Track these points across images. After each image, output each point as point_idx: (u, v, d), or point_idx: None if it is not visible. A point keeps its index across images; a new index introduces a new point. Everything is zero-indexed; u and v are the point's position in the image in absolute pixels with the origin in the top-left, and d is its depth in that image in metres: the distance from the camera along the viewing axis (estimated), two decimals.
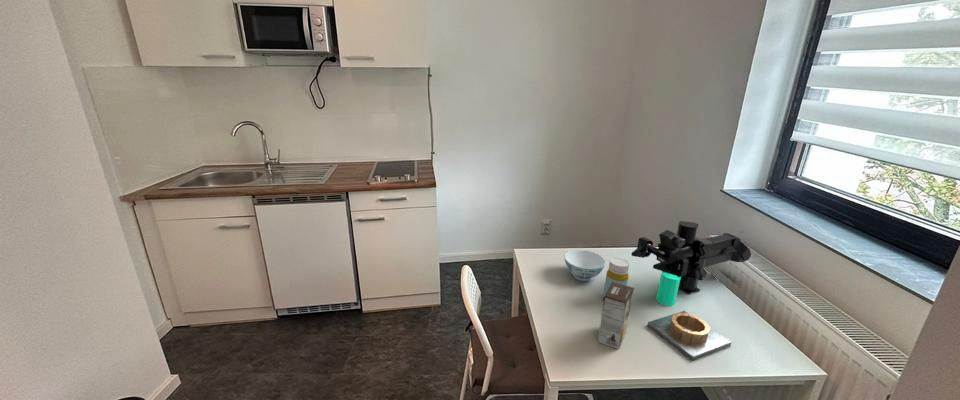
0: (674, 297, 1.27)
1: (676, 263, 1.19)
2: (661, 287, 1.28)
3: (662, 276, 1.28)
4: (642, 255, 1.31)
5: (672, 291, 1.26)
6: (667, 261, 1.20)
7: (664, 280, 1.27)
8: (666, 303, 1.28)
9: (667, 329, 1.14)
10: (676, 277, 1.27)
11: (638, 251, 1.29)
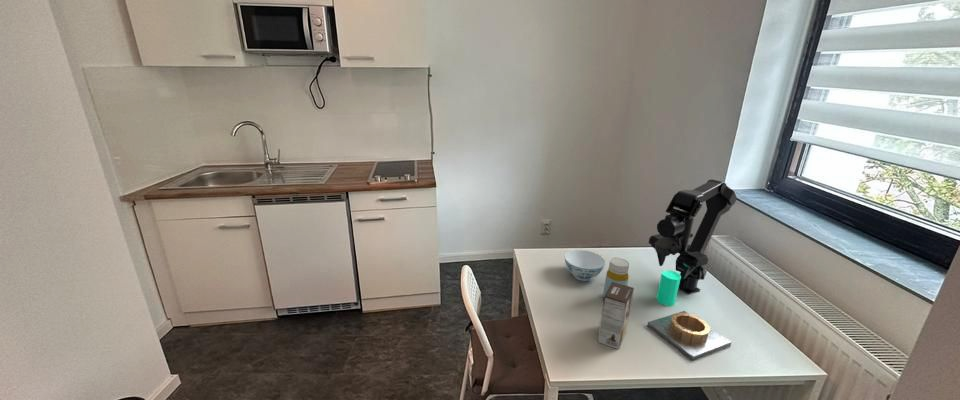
0: (674, 297, 1.27)
1: None
2: (661, 287, 1.28)
3: (662, 276, 1.28)
4: None
5: (672, 291, 1.26)
6: (685, 267, 1.20)
7: (664, 280, 1.27)
8: (666, 303, 1.28)
9: (667, 329, 1.14)
10: (676, 277, 1.26)
11: (661, 258, 1.30)
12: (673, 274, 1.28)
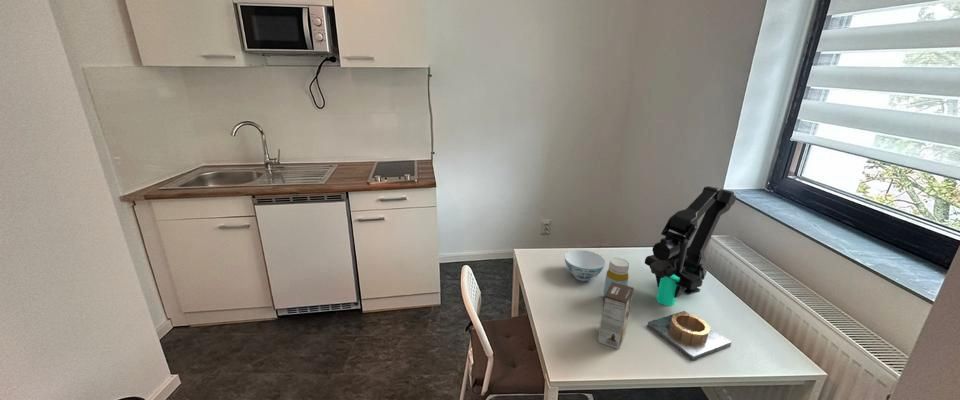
0: (674, 297, 1.27)
1: None
2: (661, 287, 1.28)
3: None
4: None
5: (672, 291, 1.26)
6: (678, 287, 1.24)
7: (664, 280, 1.27)
8: (666, 303, 1.28)
9: (667, 329, 1.14)
10: (676, 277, 1.26)
11: (659, 280, 1.32)
12: None
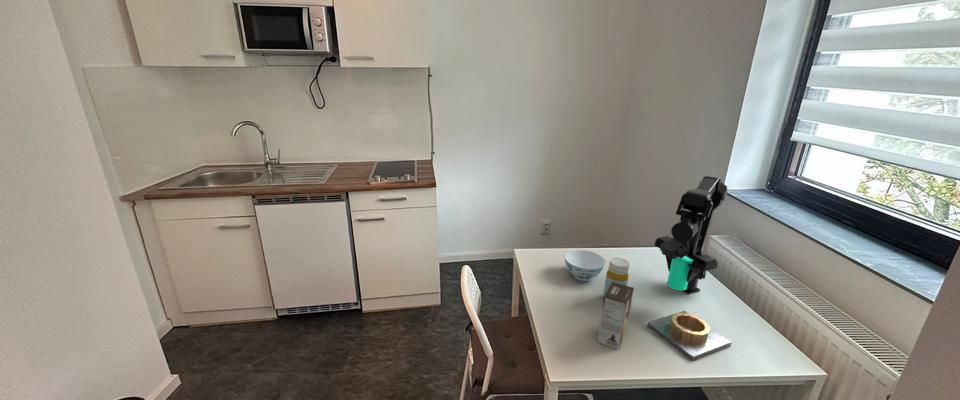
0: None
1: None
2: (673, 270, 1.19)
3: None
4: None
5: (685, 274, 1.17)
6: (690, 270, 1.15)
7: (676, 262, 1.18)
8: (678, 287, 1.19)
9: (667, 329, 1.14)
10: (689, 259, 1.18)
11: (670, 263, 1.23)
12: (685, 256, 1.20)
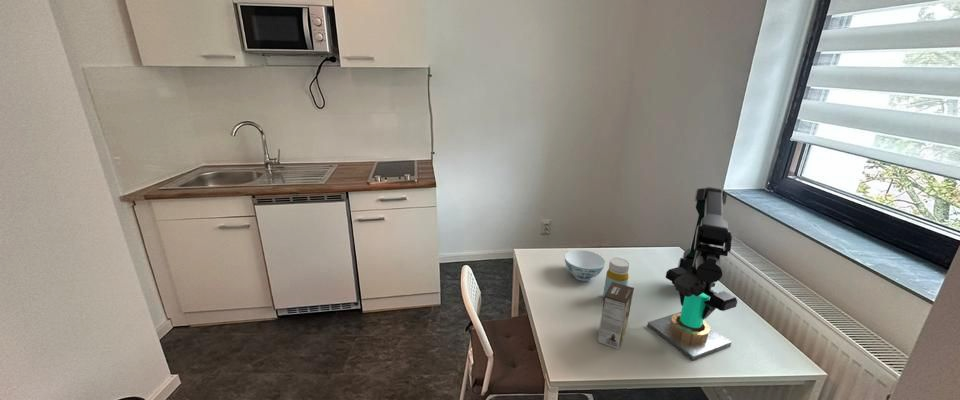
0: None
1: None
2: (688, 307, 1.09)
3: None
4: None
5: (702, 311, 1.07)
6: (707, 307, 1.05)
7: (692, 299, 1.07)
8: (694, 325, 1.09)
9: (667, 329, 1.14)
10: (704, 294, 1.08)
11: (683, 297, 1.13)
12: None
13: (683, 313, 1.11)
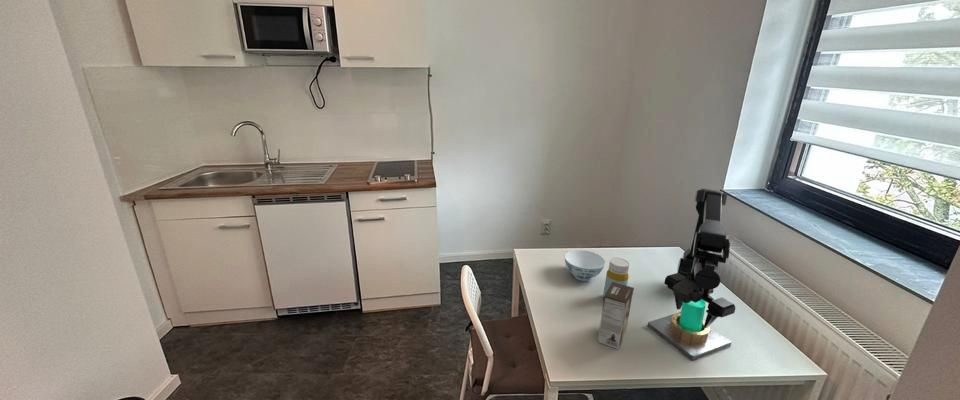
0: (700, 327, 1.10)
1: None
2: (684, 316, 1.10)
3: (684, 304, 1.10)
4: None
5: (698, 321, 1.09)
6: (709, 316, 1.05)
7: (687, 308, 1.09)
8: None
9: (667, 329, 1.14)
10: (700, 304, 1.09)
11: (679, 301, 1.14)
12: None
13: (680, 322, 1.12)
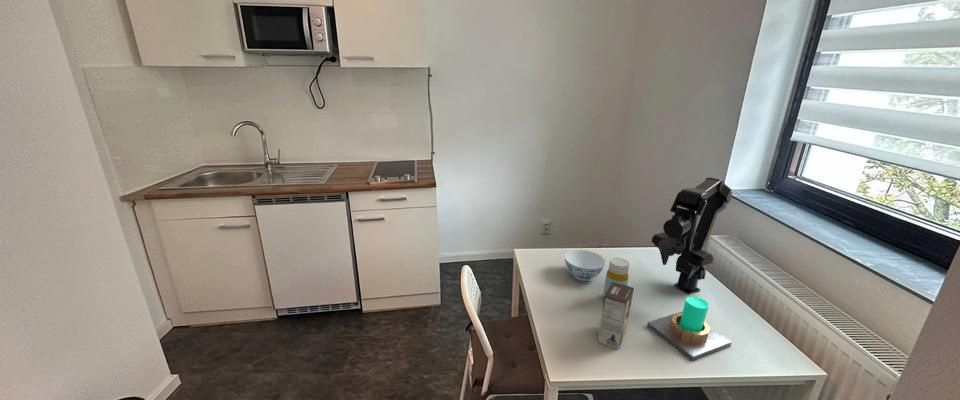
0: (700, 328, 1.10)
1: None
2: (685, 316, 1.10)
3: (687, 304, 1.10)
4: None
5: (699, 321, 1.09)
6: (690, 267, 1.18)
7: (689, 309, 1.09)
8: None
9: (667, 329, 1.14)
10: (703, 305, 1.09)
11: (664, 257, 1.28)
12: (699, 301, 1.11)
13: (681, 322, 1.12)
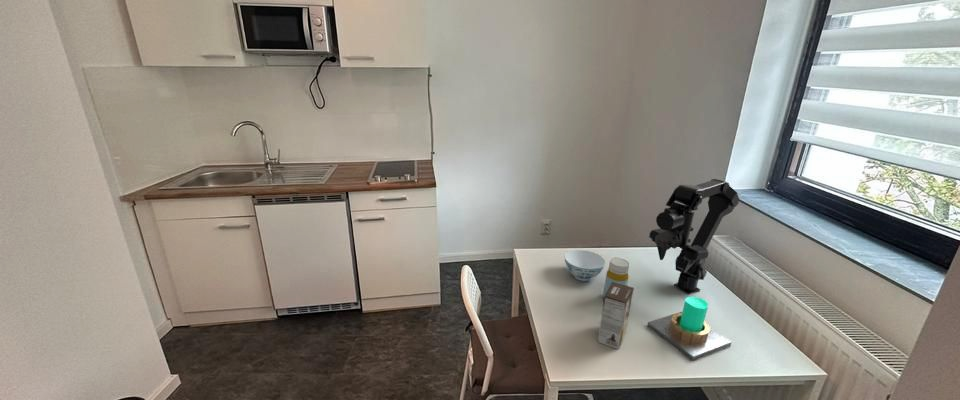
0: (700, 328, 1.10)
1: None
2: (685, 317, 1.10)
3: (686, 304, 1.10)
4: None
5: (699, 322, 1.09)
6: (686, 261, 1.21)
7: (689, 309, 1.09)
8: None
9: (667, 329, 1.14)
10: (703, 305, 1.09)
11: (661, 252, 1.31)
12: (698, 301, 1.11)
13: (681, 322, 1.12)
